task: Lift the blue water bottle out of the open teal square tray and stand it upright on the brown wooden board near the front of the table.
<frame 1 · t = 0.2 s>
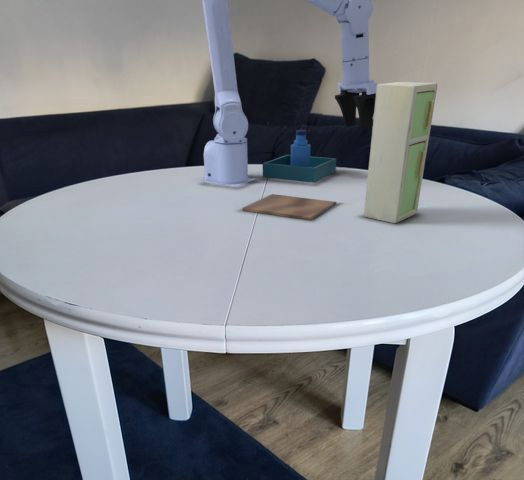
hand: (357, 127, 111), 11 cm above the table, tool pointing down, fingers open, 7 cm apart
water bottle: (299, 174, 116), point 1 cm above the table, touching teal square tray
teal square tray: (299, 176, 116), on the table
brown wooden board: (289, 207, 93), on the table
toy refrigerator: (391, 217, 87), on the table
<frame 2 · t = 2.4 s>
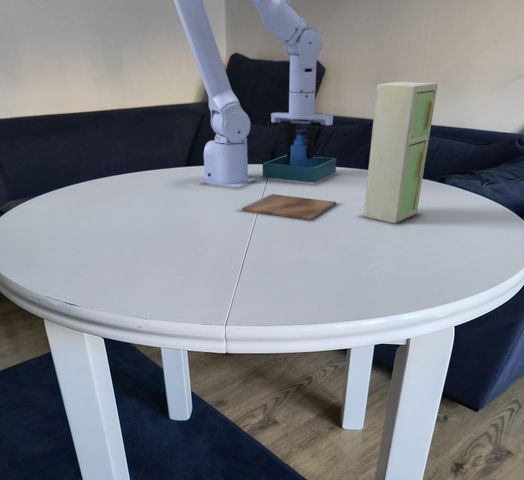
hand: (300, 157, 114), 4 cm above the table, tool pointing down, fingers closed on water bottle, 4 cm apart
water bottle: (299, 174, 116), point 1 cm above the table, touching teal square tray, gripper
everything else where it was.
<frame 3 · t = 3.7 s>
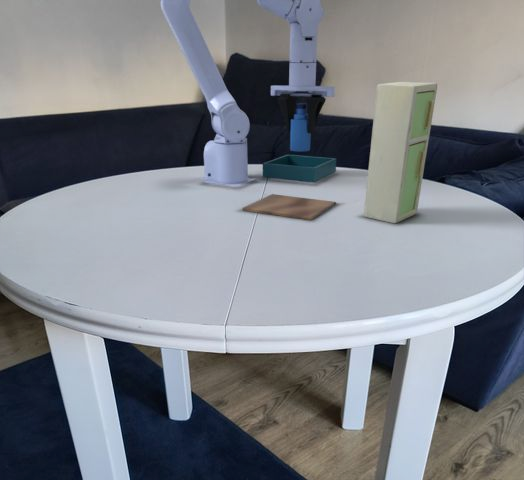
hand: (300, 132, 110), 10 cm above the table, tool pointing down, fingers closed on water bottle, 4 cm apart
water bottle: (300, 150, 112), point 6 cm above the table, touching gripper
everything else where it was.
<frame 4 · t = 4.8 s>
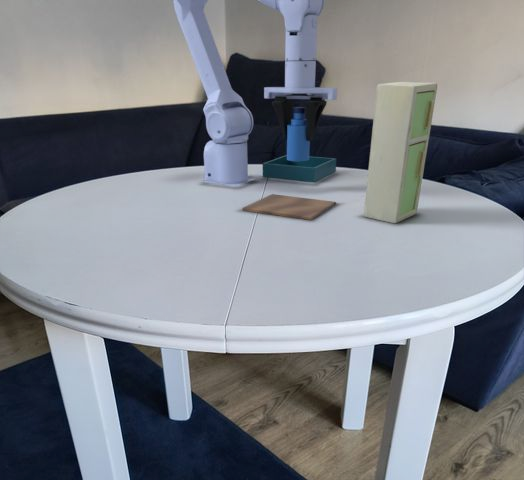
hand: (298, 139, 97), 10 cm above the table, tool pointing down, fingers closed on water bottle, 4 cm apart
water bottle: (297, 159, 100), point 7 cm above the table, touching gripper
everything else where it was.
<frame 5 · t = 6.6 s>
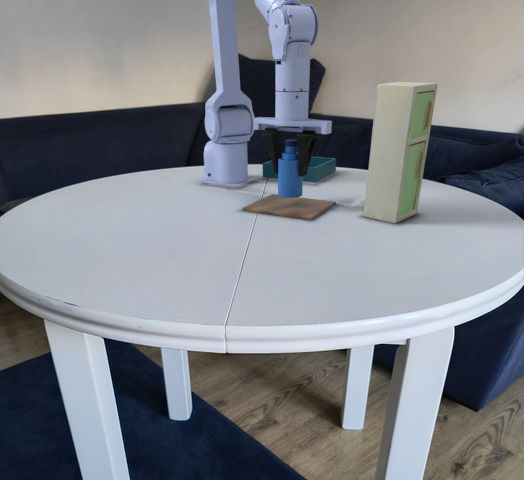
hand: (290, 174, 90), 6 cm above the table, tool pointing down, fingers closed on water bottle, 4 cm apart
water bottle: (290, 194, 92), point 2 cm above the table, touching gripper
everything else where it was.
when the fingers open (4 cm above the table, at t = 7.6 s): water bottle stays where it is, resting on brown wooden board.
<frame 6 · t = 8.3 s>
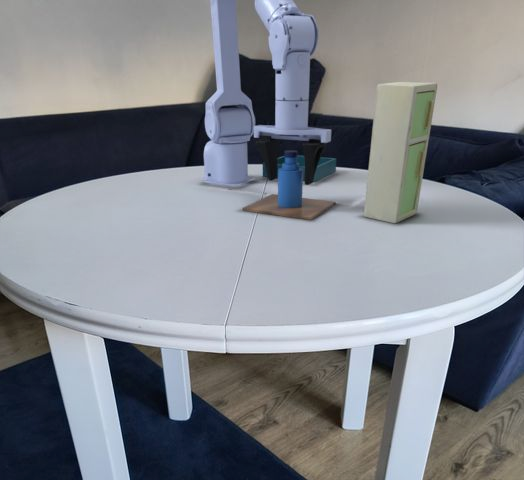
hand: (290, 181, 90), 5 cm above the table, tool pointing down, fingers open, 7 cm apart
water bottle: (289, 204, 93), resting on brown wooden board
everything else where it was.
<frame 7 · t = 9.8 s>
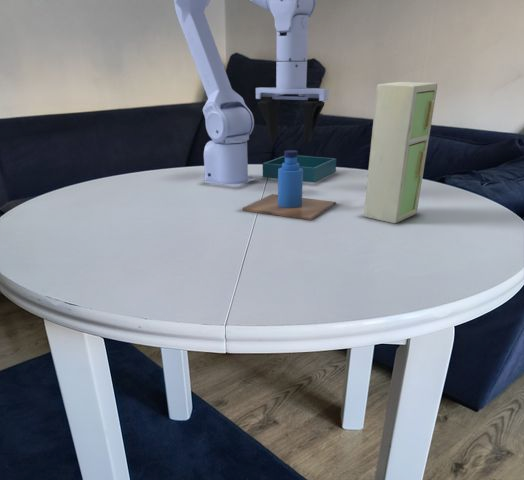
hand: (290, 140, 97), 10 cm above the table, tool pointing down, fingers open, 7 cm apart
nothing on the table moved.
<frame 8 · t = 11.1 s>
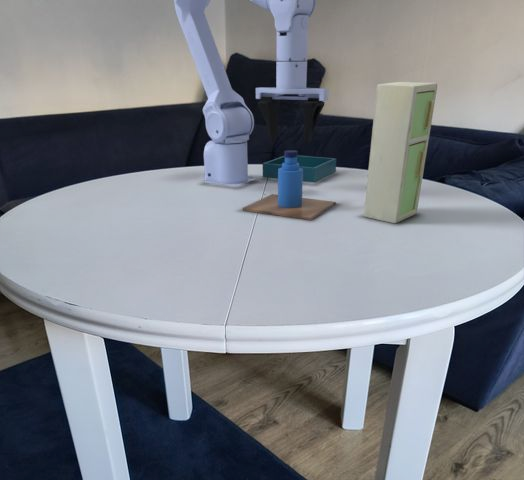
hand: (290, 140, 97), 10 cm above the table, tool pointing down, fingers open, 7 cm apart
nothing on the table moved.
at the end: water bottle inside the target area on the brown wooden board (0.1 cm from its centre), point 0.5 cm above the brown wooden board's base; water bottle tilted 0°; water bottle touching brown wooden board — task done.
